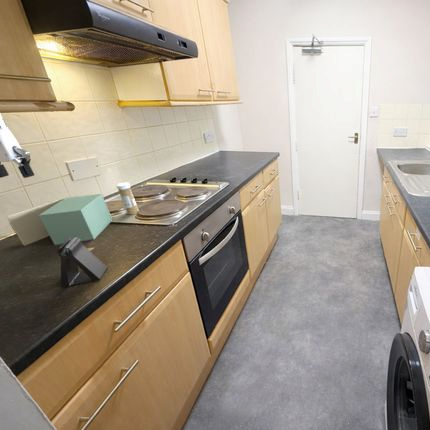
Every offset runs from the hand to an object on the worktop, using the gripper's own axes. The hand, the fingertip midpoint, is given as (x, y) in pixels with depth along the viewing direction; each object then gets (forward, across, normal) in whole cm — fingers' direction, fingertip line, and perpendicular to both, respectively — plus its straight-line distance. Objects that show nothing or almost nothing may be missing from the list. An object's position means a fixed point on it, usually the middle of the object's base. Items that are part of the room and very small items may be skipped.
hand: (16, 176), depth 93 cm
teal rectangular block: (+22, +15, +1) cm, 27 cm away
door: (+22, +2, -1) cm, 22 cm away
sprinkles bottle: (+22, +22, +18) cm, 36 cm away
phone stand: (+23, +40, -26) cm, 53 cm away
